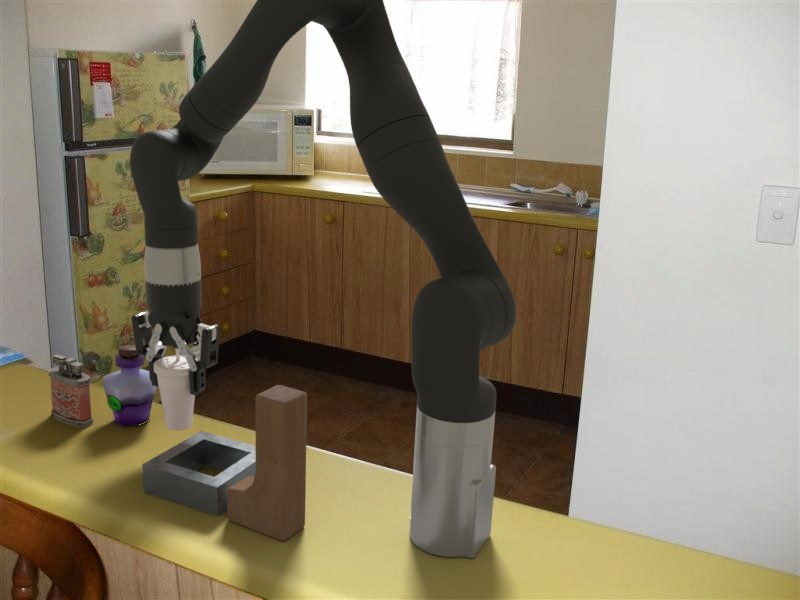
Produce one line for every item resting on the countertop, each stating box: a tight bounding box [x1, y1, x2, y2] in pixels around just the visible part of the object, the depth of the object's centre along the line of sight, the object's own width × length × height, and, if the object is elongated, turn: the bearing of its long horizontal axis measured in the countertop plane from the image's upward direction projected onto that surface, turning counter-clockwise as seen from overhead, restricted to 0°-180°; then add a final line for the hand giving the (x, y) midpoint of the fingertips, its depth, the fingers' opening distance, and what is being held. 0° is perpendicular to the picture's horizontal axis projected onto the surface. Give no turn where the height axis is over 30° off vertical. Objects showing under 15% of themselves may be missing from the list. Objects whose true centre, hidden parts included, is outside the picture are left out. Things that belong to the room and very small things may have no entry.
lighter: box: [47, 354, 94, 428], centre depth 130 cm, size 8×3×10 cm, turn 58°
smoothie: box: [154, 348, 197, 431], centre depth 121 cm, size 6×6×14 cm
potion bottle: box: [102, 344, 158, 428], centre depth 131 cm, size 9×9×12 cm
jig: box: [142, 430, 256, 517], centre depth 113 cm, size 12×12×4 cm
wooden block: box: [226, 384, 308, 542], centre depth 103 cm, size 9×4×18 cm, turn 60°
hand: (177, 388), depth 122 cm, fingers closed on smoothie, 6 cm apart
